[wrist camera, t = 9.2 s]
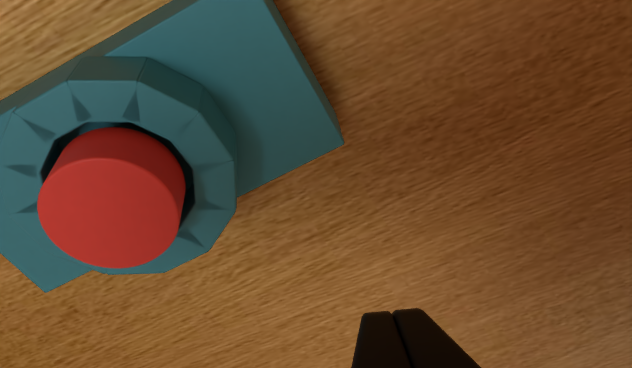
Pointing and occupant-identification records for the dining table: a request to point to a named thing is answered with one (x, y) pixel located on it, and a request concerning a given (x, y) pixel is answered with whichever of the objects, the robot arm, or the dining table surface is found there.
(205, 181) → the button block
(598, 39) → the dining table surface
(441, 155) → the dining table surface
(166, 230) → the button
